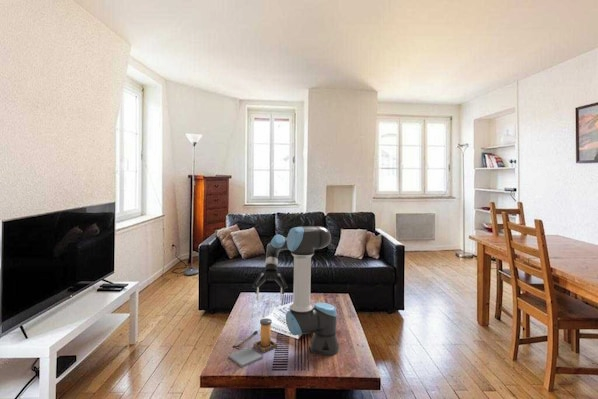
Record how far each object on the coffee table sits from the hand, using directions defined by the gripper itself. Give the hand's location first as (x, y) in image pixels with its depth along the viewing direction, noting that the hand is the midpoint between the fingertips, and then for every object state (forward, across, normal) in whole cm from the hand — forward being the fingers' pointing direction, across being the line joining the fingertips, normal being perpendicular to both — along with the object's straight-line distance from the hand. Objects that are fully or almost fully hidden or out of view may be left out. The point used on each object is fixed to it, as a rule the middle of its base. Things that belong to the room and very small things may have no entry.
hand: (269, 299), depth 185 cm
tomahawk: (+20, +10, -10) cm, 25 cm away
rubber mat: (+32, +9, +3) cm, 34 cm away
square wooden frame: (+24, 0, -4) cm, 25 cm away
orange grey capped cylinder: (+24, 0, -4) cm, 25 cm away
